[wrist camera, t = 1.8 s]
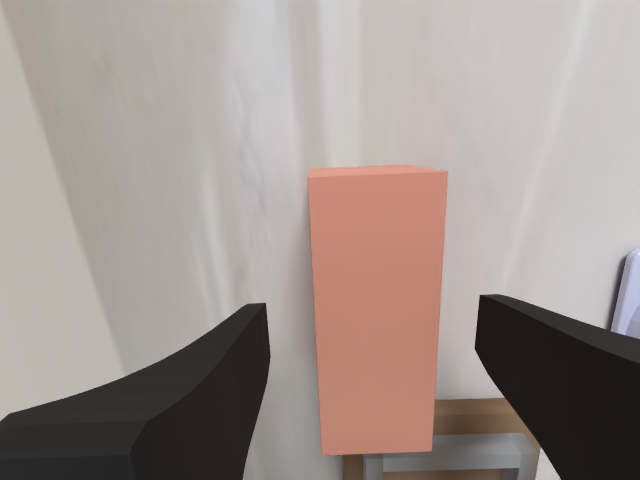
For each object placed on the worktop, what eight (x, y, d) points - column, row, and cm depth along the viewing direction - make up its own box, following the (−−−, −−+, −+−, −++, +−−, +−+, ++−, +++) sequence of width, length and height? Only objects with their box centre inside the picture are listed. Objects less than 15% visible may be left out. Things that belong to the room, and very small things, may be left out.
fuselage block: (404, 164, 14) (448, 171, 9) (399, 365, 17) (431, 451, 12) (311, 168, 14) (307, 177, 9) (321, 368, 17) (321, 455, 12)
